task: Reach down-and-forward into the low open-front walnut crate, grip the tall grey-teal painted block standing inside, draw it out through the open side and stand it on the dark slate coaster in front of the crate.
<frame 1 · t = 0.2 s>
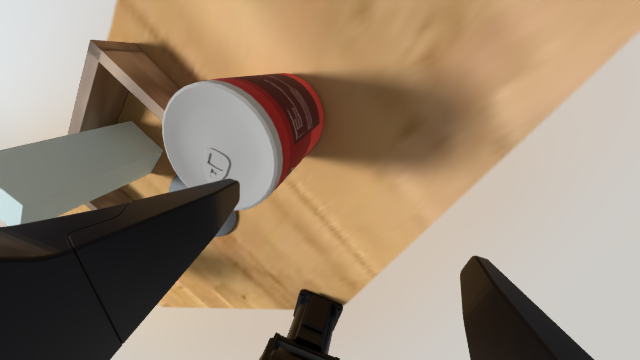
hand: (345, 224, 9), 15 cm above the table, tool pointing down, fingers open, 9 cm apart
block: (141, 148, 30), on the table
canned food: (289, 116, 23), on the table
coaster: (203, 205, 32), on the table
crate: (147, 153, 30), on the table
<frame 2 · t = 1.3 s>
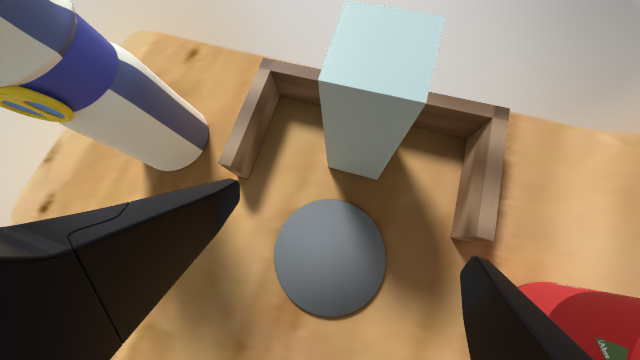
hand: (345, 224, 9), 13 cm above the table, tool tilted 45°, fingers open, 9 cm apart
blue striped jug: (177, 139, 26), on the table
block: (358, 150, 24), on the table
canned food: (543, 330, 19), on the table
coaster: (329, 254, 21), on the table
crate: (356, 159, 23), on the table
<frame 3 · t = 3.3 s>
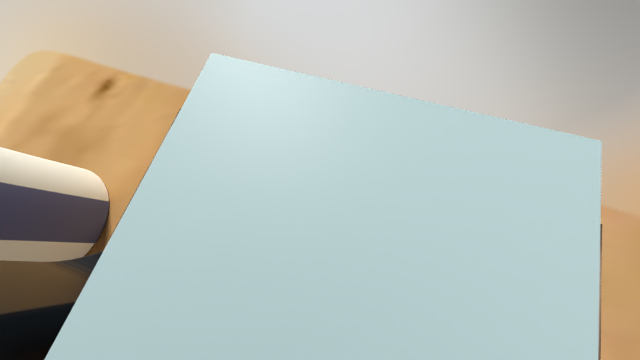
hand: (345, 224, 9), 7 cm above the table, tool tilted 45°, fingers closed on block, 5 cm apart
blue striped jug: (62, 220, 17), on the table
block: (334, 255, 15), on the table, touching gripper
crate: (330, 270, 15), on the table
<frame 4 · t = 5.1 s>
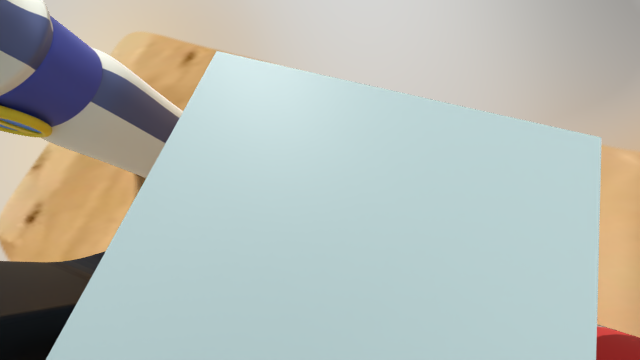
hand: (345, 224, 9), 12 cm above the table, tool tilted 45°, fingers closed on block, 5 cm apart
blue striped jug: (171, 148, 24), on the table
block: (336, 255, 15), point 6 cm above the table, touching gripper
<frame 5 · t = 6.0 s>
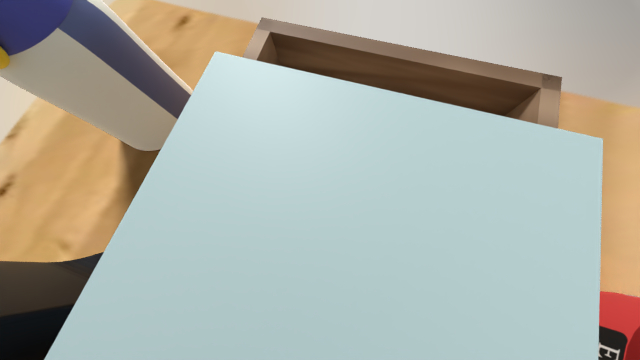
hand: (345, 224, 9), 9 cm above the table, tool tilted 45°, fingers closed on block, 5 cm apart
blue striped jug: (161, 115, 22), on the table
block: (336, 255, 15), point 3 cm above the table, touching gripper
canned food: (602, 352, 15), on the table
crate: (369, 140, 20), on the table
when the fingers open (7 cm above the table, at t = 6.7 s): block stays where it is, resting on coaster.
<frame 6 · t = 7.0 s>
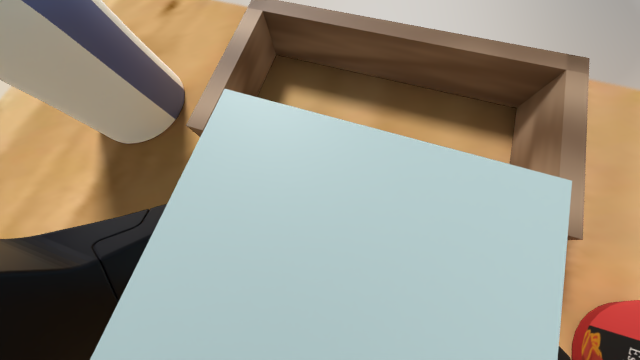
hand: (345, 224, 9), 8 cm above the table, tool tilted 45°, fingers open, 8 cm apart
blue striped jug: (145, 105, 20), on the table
block: (334, 255, 15), resting on coaster
crate: (371, 131, 18), on the table
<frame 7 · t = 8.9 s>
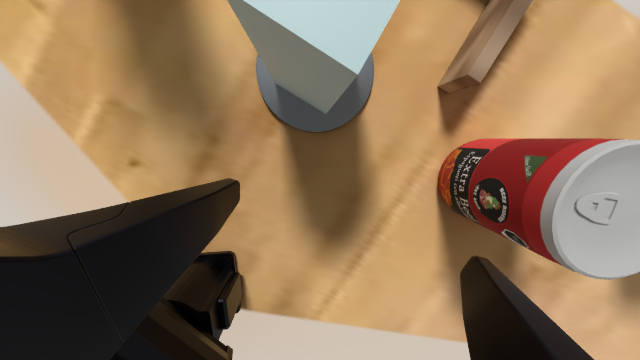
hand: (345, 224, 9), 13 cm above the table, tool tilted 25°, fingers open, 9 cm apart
block: (315, 72, 20), resting on coaster
canned food: (473, 177, 23), on the table
coaster: (315, 73, 20), on the table
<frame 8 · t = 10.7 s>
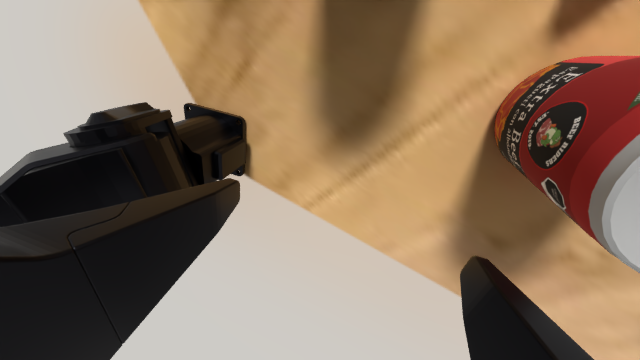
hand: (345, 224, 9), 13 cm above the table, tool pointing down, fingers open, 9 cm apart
canned food: (555, 117, 16), on the table
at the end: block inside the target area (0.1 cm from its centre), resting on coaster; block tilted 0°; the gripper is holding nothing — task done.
